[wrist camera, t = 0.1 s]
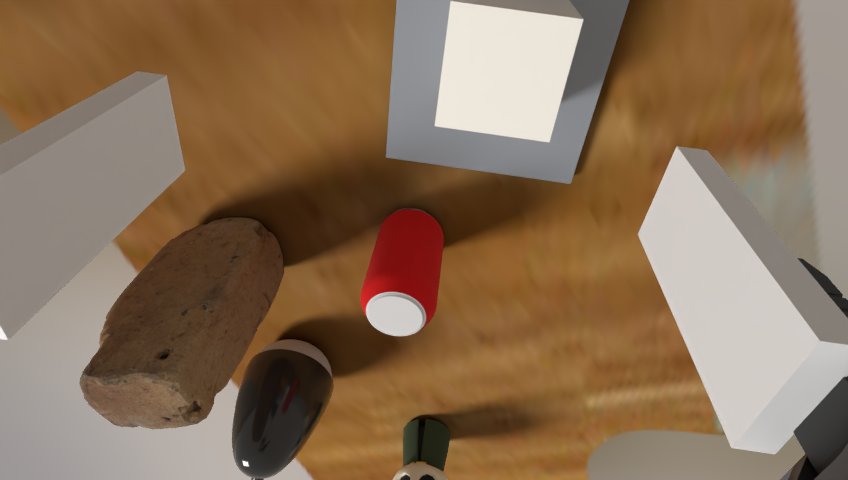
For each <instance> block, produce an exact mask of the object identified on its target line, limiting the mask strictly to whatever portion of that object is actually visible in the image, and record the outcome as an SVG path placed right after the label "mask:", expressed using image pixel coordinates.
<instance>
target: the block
mask: <svg viewBox="0 0 848 480" xmlns="http://www.w3.org/2000/svg"><path fill="white" fill-rule="evenodd" d="M283 274H284V264H283V256H282V252H281V249H280V246H279V243H278V241H277V239H276V237H275V236H274V235H273V233H271V232H268V231H267V230H266V229H265V228H264V227H263V226H262V224H261V223H260V222H259V221H257V220H254V219H250V218H243V217H235V218H223V219H219V220H215V221H212V222H210V223H209V224H206V225H200V226H197V227H194V228H192V229H190V230H188V231H185V232H183V233H181V234H180V235H178V236H177V237H176V238H174V239H172V240H171V241H170V242H168V243H167V244H166V245H165V246H164V247H163V248H162V249H161V250H160V251H159V252H158V253H157V254H156V255H155V256H154V258H153V259H152V260H151V261H150V262H149V263H148V264H147V265H146V266H145V268H144V269H143V270H142V271H141V272H140V273H139V274H138V275H137V276H136V278H135V279H134V280H133V281H132V282H131V283H130V284H129V286H128V287H127V288H126V289H125V290H124V291H123V293H122V294H121V295H120V296H119V298H118V299H117V301H116V302H115V303H114V305H113V306H112V308H111V309H110V311H109V312H108V314H107V316H106V321H105V324H104V327H103V330H102V333H101V335H100V341H99V344H100V348H99V350H98V352H97V353H96V354H95V355H94V357H93V358H92V359H91V361H90V363H89V364H88V365H87V367H86V368H85V369H84V371H83V373H82V376H81V378H80V386H81V389H82V391H83V393H84V399H85V400H86V401H87V402H88V404H89V405H90V406H91V407H92V408H94V409H95V410H96V411H97V412H98V413H99V414H101V415H102V416H103V417H104V418H106V419H107V420H109V421H110V422H111V423H113V424H114V425H117V426H121V427H125V426H128V427H137V426H141V427H145V428H150V429H163V428H177V427H182V426H188V425H193V424H197V423H199V422H200V421H202V420H203V419H205V418H207V415H208V414H209V413H210V411H211V409H212V406H213V404H214V397H215V395H216V394H217V393H218V392H220V391H221V390H222V389H223V388H224V387H225V386H226V385H227V383H228V382H229V380H230V378H231V377H232V375H233V373H234V372H235V370H236V368H237V366H238V365H239V363H240V362H241V360H242V358H243V356H244V355H245V353H246V351H247V349H248V347H249V345H250V343H251V341H252V340H253V338H254V335H255V333H256V331H257V328H258V326H259V325H260V324H261V322H262V321H263V319H264V318H265V316H266V314H267V313H268V311H269V308H270V306H271V304H272V302H273V300H274V298H275V296H276V293H277V291H278V289H279V286H280V283H281V280H282V277H283Z"/></svg>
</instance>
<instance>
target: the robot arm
mask: <svg viewBox="0 0 848 480" xmlns="http://www.w3.org/2000/svg"><path fill="white" fill-rule="evenodd" d="M184 171H185V167H184V162H183V157H182V152H181V147H180V141H179V136H178V131H177V126H176V121H175V116H174V111H173V106H172V101H171V96H170V91H169V85H168V80H167V75H160V74H153V73H146V72H138V71H137V72H135V73H133V74H131V75H130V76H128V77H126V78H124V79H122V80H120V81H119V82H117V83H115V84H113V85H111V86H109V87H107V88H106V89H104V90H102V91H100V92H98V93H96V94H94V95H93V96H91V97H89V98H87V99H85V100H83V101H82V102H80V103H78V104H76V105H74V106H72V107H70V108H69V109H67V110H65V111H63V112H61V113H59V114H57V115H56V116H54V117H52V118H50V119H48V120H46V121H44V122H43V123H41V124H39V125H37V126H35V127H33V128H32V129H30V130H28V131H26V132H24V133H22V134H20V135H19V136H17V137H15V138H13V139H11V140H10V141H7V142H6V143H4V144H2V145H0V339H4V340H9V339H10V338H11V337H12V336H13V335H14V334H15V333H16V332H17V331H18V330H19V329H20V328H21V327H22V326H23V325H25V324H26V323H27V322H28V321H29V320H30V319H31V318H32V317H33V316H34V315H35V314H36V313H37V312H38V311H39V310H40V309H41V308H42V307H43V306H44V305H45V304H46V303H47V302H49V300H51V299H52V298H53V296H55V295H56V294H57V293H58V292H59V291H60V290H61V289H62V288H63V287H64V286H65V285H66V284H67V283H68V282H69V281H70V280H71V279H72V278H73V277H75V275H77V274H78V273H79V272H80V271H81V270H82V269H83V268H84V267H85V266H86V265H87V264H88V263H89V262H90V261H91V260H92V259H93V258H94V257H95V256H96V255H98V254H99V252H101V251H102V250H103V249H104V248H105V247H106V246H107V245H108V244H109V243H110V242H111V241H112V240H113V239H114V238H115V237H116V236H117V235H118V234H119V233H120V232H122V231H123V230H124V229H125V228H126V227H127V226H128V225H129V224H130V223H131V222H132V221H133V220H134V219H135V218H136V217H137V216H138V215H139V214H140V213H141V212H142V211H143V210H144V209H146V208H147V207H148V206H149V205H150V204H151V203H152V202H153V201H154V200H155V199H156V198H157V197H158V196H159V195H160V194H161V193H162V192H163V191H164V190H165V189H166V188H167V187H168V186H169V185H171V184H172V183H173V182H174V181H175V180H176V179H177V178H178V177H179V176H180V175H181V174H182V173H183V172H184ZM638 236H639V238H640V241H641V243H642V245H643V247H644V250H645V252H646V254H647V257H648V259H649V261H650V263H651V266H652V268H653V270H654V272H655V275H656V277H657V279H658V282H659V284H660V286H661V288H662V291H663V293H664V295H665V298H666V300H667V302H668V304H669V307H670V309H671V311H672V313H673V316H674V318H675V320H676V323H677V325H678V327H679V329H680V332H681V334H682V336H683V338H684V341H685V343H686V345H687V348H688V350H689V352H690V354H691V357H692V359H693V361H694V364H695V366H696V368H697V370H698V373H699V375H700V377H701V379H702V382H703V384H704V386H705V389H706V391H707V393H708V395H709V398H710V400H711V402H712V404H713V407H714V409H715V411H716V414H717V416H718V418H719V420H720V423H721V425H722V427H723V429H724V432H725V434H726V436H727V438H728V441H729V443H730V445H731V448H736V449H742V450H749V451H756V452H763V453H769V454H776V453H777V452H778V451H779V449H780V448H781V447H782V446H783V445H784V444H785V443H786V442H787V441H788V440H789V439H790V437H792V435H793V434H795V435H796V437H797V439H798V441H799V443H800V444H801V446H802V448H803V450H804V451H805V453H806V454H805V455H804V456H803V457H802V458H801V459H800V460H799V461H798V462H797V463H796V464H795V465H794V466H793V467H792V468H791V469H790V470H789V471H788V472H787V473H786V475H784V476H783V477H782V478H781V479H780V480H848V300H847V299H846V298H842V294H841V292H840V291H839V290H838V289H837V288H836V287H835V285H833V283H832V282H831V281H830V280H829V279H828V277H827V276H825V275H824V274H823V273H821V272H820V271H819V270H817V269H816V268H814V267H813V266H812V265H810V264H809V263H807V262H806V261H805V260H803V259H799V258H797V257H796V256H795V255H794V254H793V252H792V251H791V250H790V249H789V248H788V246H787V245H786V244H785V243H784V242H783V240H782V239H781V238H780V237H779V236H778V234H777V233H776V232H775V231H774V230H773V229H772V227H771V226H770V225H769V224H768V223H767V221H766V220H765V219H764V218H763V217H762V215H761V214H760V213H759V212H758V211H757V209H756V208H755V207H754V206H753V205H752V203H751V202H750V201H749V200H748V199H747V198H746V196H745V195H744V194H743V193H742V192H741V190H740V189H739V188H738V187H737V186H736V184H735V183H734V182H733V181H732V180H731V178H730V177H729V176H728V175H727V174H726V172H725V171H724V170H723V169H722V168H721V166H720V165H719V164H718V163H717V162H716V161H715V159H714V158H713V157H712V156H711V155H710V153H709V152H708V151H707V150H700V149H693V148H686V147H679V146H677V147H676V149H675V151H674V154H673V156H672V158H671V160H670V163H669V165H668V167H667V170H666V172H665V174H664V176H663V179H662V181H661V183H660V185H659V188H658V190H657V192H656V195H655V197H654V199H653V201H652V204H651V206H650V208H649V211H648V213H647V215H646V217H645V220H644V222H643V224H642V227H641V229H640V231H639V233H638Z"/></svg>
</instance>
